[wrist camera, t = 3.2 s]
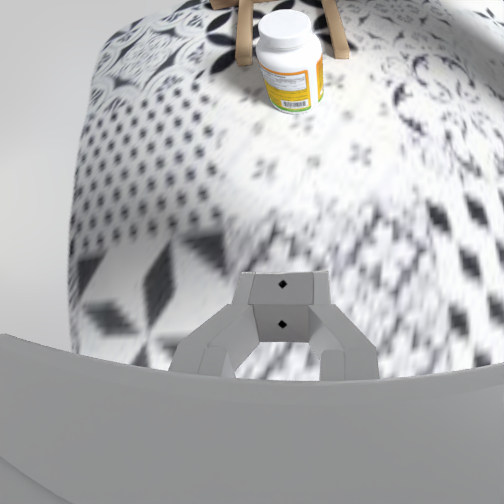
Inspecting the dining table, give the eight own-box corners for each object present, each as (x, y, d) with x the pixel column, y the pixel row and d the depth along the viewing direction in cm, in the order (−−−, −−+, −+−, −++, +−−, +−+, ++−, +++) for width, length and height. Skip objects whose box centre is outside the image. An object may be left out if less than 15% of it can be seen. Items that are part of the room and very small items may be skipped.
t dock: (358, -7, 29) (358, -18, 27) (384, 60, 26) (386, 47, 24) (214, 4, 33) (210, -5, 31) (203, 71, 30) (197, 60, 29)
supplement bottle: (298, 67, 28) (286, -3, 19) (335, 96, 27) (335, 23, 17) (258, 94, 28) (234, 25, 19) (293, 125, 27) (280, 54, 18)
